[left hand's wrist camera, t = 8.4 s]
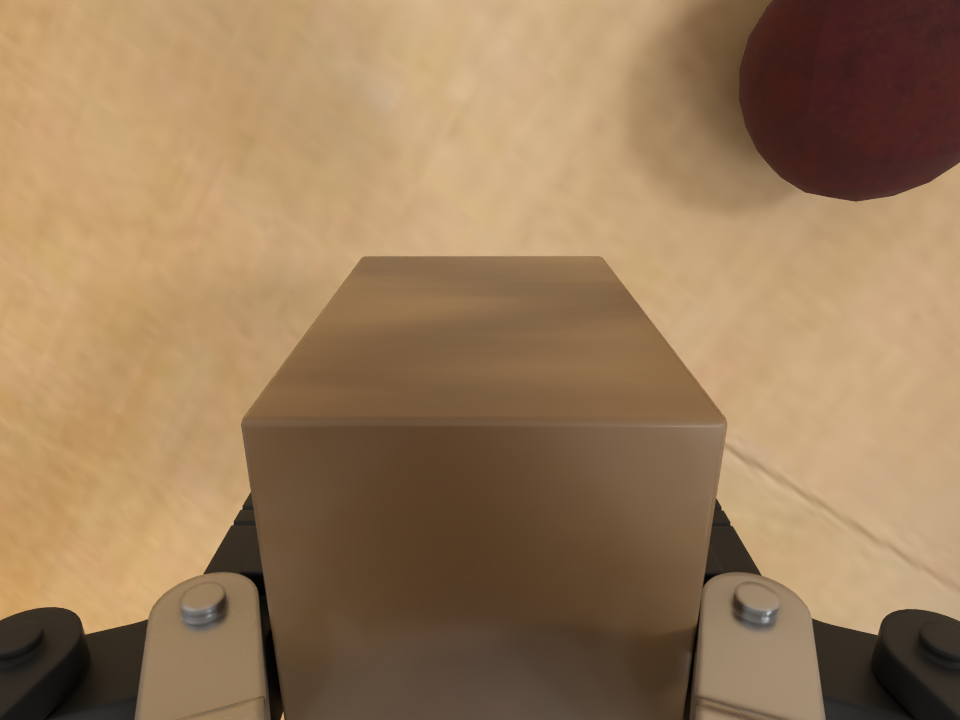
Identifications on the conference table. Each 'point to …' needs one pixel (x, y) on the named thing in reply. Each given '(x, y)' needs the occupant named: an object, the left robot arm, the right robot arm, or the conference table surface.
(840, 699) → the left robot arm
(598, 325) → the block
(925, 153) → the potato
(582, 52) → the conference table surface
